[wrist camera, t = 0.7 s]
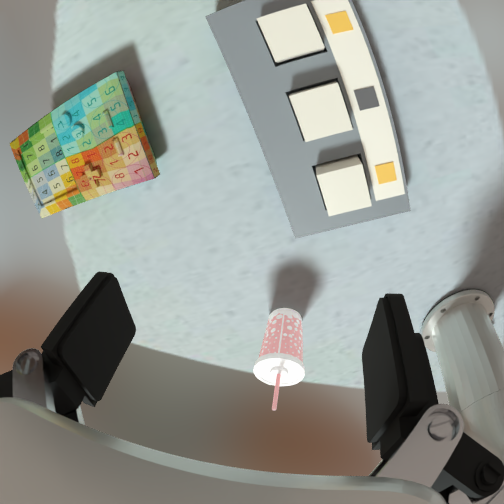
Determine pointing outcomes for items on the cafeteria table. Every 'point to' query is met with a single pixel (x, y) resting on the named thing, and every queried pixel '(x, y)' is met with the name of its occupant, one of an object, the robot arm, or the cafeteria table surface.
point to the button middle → (321, 111)
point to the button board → (285, 120)
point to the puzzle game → (86, 148)
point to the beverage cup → (281, 351)
